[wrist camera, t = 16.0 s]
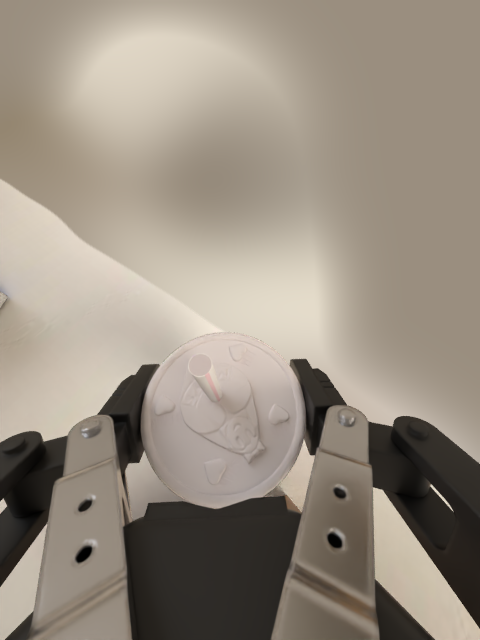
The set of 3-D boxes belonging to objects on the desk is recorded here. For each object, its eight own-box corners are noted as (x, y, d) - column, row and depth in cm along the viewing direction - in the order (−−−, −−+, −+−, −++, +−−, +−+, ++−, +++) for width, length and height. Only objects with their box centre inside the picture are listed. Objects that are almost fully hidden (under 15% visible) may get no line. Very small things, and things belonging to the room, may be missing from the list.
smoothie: (238, 363, 20) (240, 233, 7) (292, 431, 18) (426, 412, 5) (169, 414, 18) (18, 358, 6) (220, 497, 16) (158, 712, 3)
